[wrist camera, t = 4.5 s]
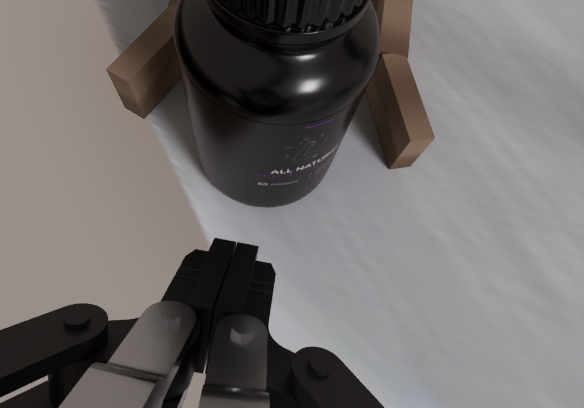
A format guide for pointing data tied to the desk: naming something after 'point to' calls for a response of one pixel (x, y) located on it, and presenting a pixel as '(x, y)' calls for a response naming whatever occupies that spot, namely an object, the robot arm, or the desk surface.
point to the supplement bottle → (272, 89)
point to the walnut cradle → (380, 91)
